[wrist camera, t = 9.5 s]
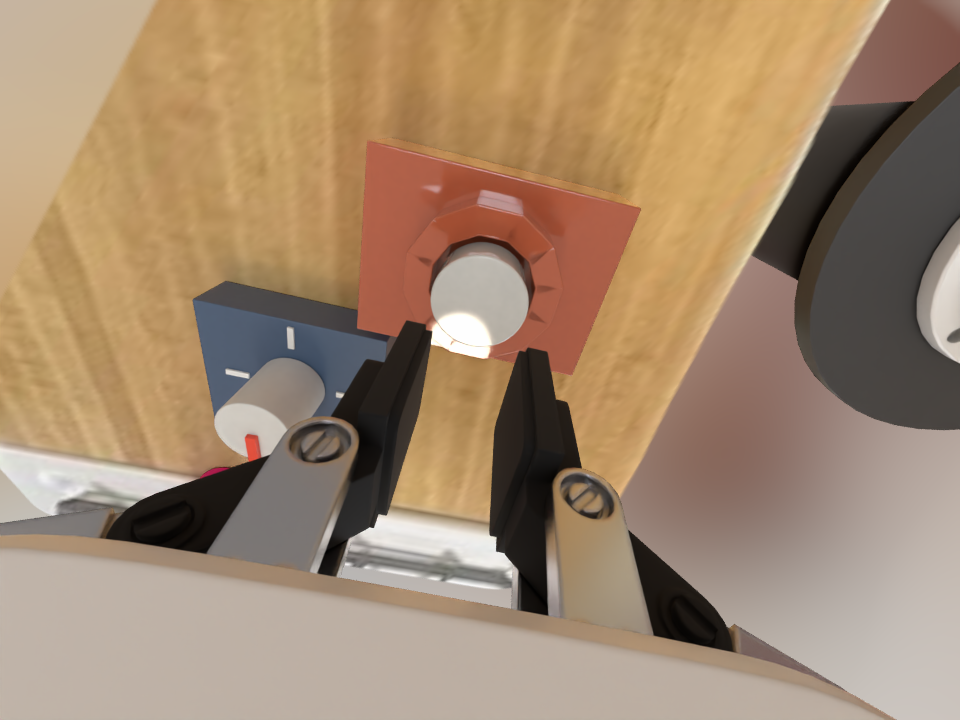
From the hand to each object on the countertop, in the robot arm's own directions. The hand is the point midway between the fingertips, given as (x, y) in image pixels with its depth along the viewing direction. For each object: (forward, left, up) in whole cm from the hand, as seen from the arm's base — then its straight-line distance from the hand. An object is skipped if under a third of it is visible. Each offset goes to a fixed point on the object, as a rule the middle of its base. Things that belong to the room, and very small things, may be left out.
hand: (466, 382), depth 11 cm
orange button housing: (0, 0, -13) cm, 13 cm away
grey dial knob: (+10, +10, -10) cm, 17 cm away
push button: (0, 0, -8) cm, 8 cm away
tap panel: (+10, +10, -13) cm, 19 cm away
